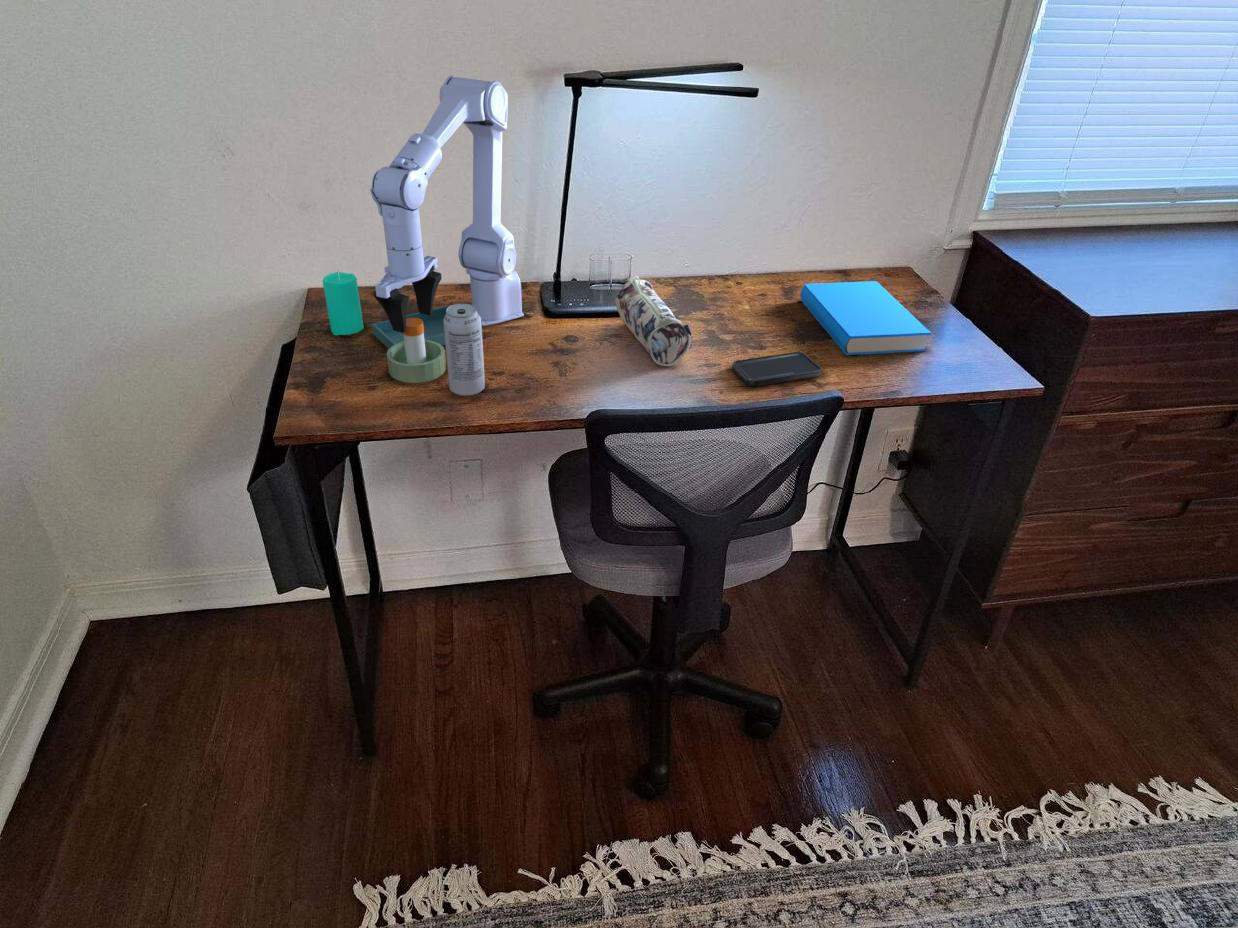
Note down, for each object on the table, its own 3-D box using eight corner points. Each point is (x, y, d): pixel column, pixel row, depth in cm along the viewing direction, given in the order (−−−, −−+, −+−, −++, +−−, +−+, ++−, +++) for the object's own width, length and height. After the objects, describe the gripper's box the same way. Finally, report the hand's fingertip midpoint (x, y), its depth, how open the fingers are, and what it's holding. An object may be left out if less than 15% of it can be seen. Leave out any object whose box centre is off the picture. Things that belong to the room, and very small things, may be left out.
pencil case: (691, 365, 154) (696, 316, 148) (648, 370, 151) (651, 321, 146) (651, 315, 170) (654, 270, 165) (611, 319, 168) (613, 273, 163)
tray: (449, 316, 167) (448, 305, 165) (476, 337, 160) (475, 325, 158) (373, 336, 158) (371, 324, 157) (398, 359, 151) (396, 346, 150)
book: (876, 280, 180) (932, 330, 160) (872, 299, 182) (927, 351, 162) (800, 283, 177) (848, 335, 157) (797, 302, 179) (844, 355, 159)
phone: (730, 361, 153) (802, 351, 157) (729, 367, 153) (801, 356, 158) (750, 382, 147) (824, 370, 151) (749, 387, 147) (823, 375, 152)
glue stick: (422, 362, 150) (417, 315, 145) (431, 370, 148) (426, 323, 142) (403, 367, 148) (397, 320, 143) (412, 375, 146) (407, 328, 141)
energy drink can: (485, 381, 146) (480, 301, 137) (485, 399, 141) (480, 317, 132) (450, 382, 145) (443, 302, 137) (448, 400, 140) (441, 318, 132)
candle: (355, 338, 157) (345, 278, 150) (325, 334, 158) (314, 274, 151) (369, 325, 162) (360, 266, 155) (340, 321, 163) (330, 262, 156)
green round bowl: (430, 353, 154) (428, 334, 152) (455, 375, 147) (454, 356, 145) (380, 367, 149) (377, 348, 147) (403, 390, 142) (401, 371, 140)
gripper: (409, 227, 142) (417, 302, 150) (355, 254, 131) (366, 333, 139) (445, 234, 140) (451, 309, 147) (392, 263, 129) (402, 343, 136)
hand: (412, 322), depth 143 cm, fingers open, 7 cm apart
